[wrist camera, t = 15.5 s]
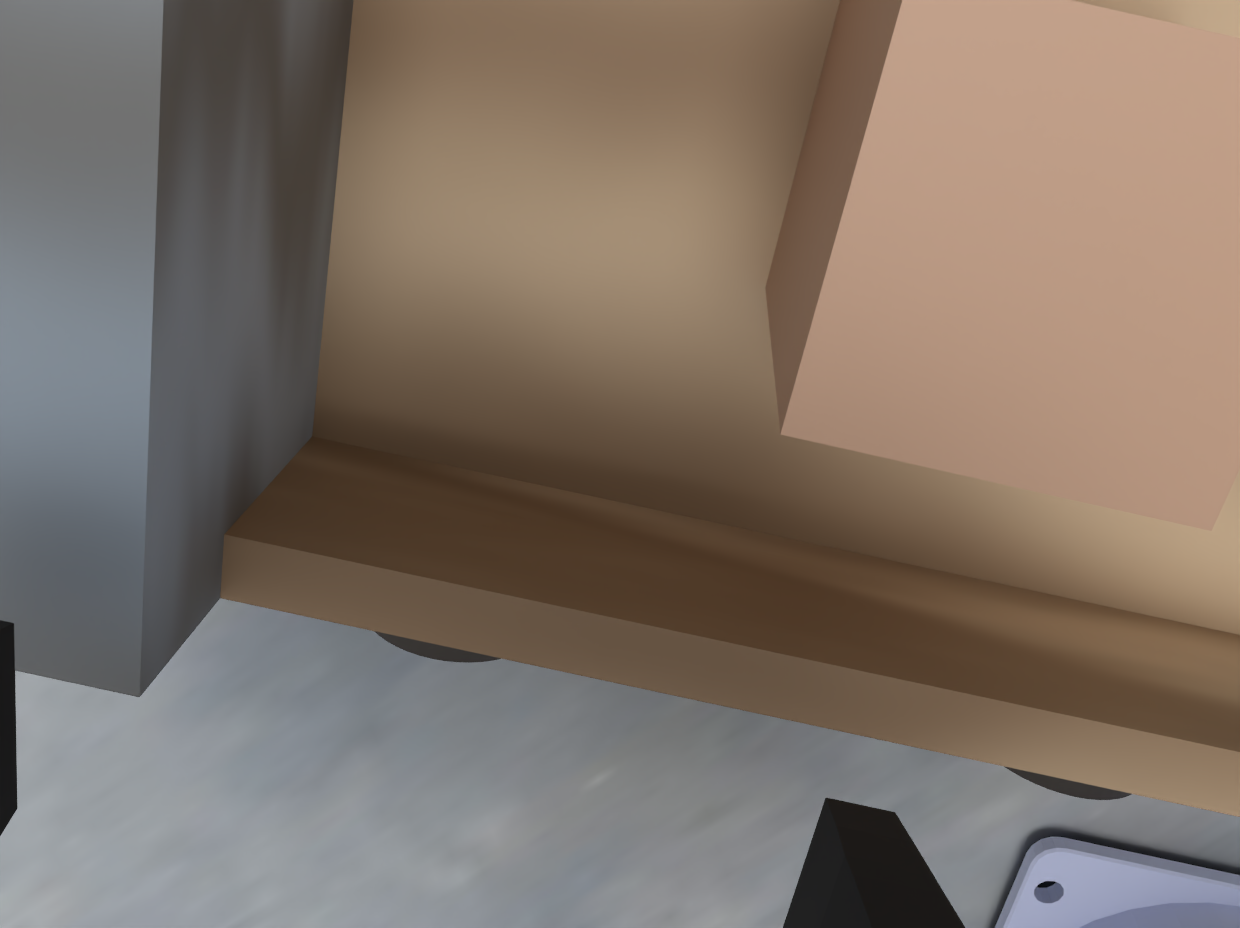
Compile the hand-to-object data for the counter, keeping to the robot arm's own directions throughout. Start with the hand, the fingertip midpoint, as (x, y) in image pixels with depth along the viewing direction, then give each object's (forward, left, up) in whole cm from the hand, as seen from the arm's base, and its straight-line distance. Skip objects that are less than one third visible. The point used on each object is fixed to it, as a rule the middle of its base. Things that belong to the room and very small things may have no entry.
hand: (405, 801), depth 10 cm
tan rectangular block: (+5, -5, -9) cm, 12 cm away
